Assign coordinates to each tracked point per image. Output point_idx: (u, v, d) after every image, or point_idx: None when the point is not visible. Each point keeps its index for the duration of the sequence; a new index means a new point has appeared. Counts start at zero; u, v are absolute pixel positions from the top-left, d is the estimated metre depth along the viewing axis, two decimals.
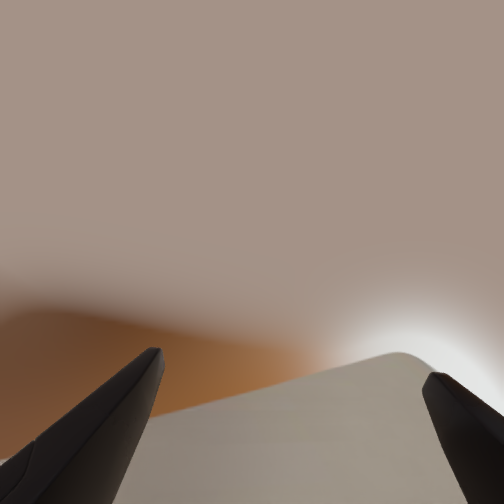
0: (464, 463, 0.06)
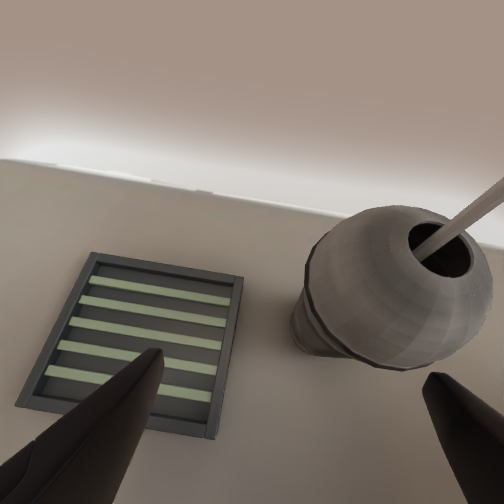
0: (464, 463, 0.06)
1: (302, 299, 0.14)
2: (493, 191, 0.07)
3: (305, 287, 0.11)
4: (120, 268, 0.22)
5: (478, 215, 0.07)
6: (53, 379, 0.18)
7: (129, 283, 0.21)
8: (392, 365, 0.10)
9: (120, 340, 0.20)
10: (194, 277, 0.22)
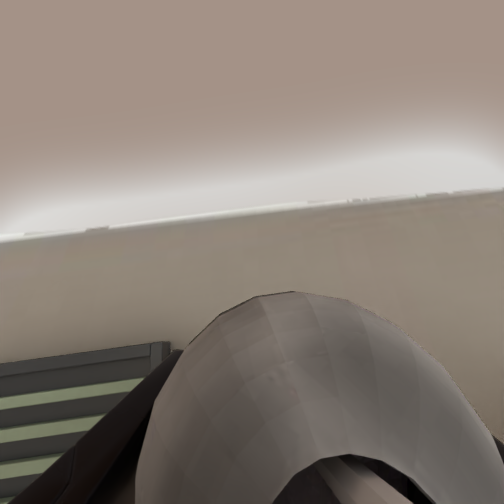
0: None
1: None
2: None
3: None
4: None
5: None
6: None
7: (11, 399, 0.15)
8: None
9: (18, 481, 0.15)
10: (97, 362, 0.16)
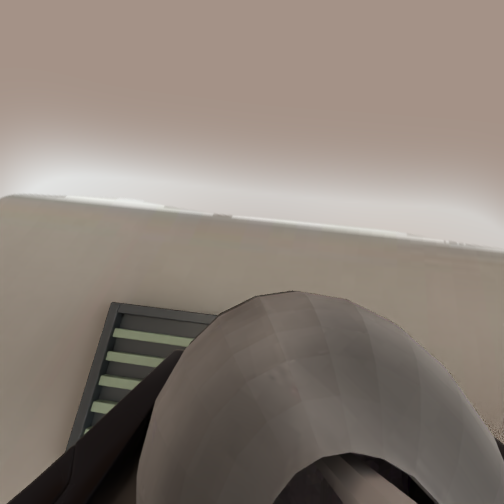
0: None
1: None
2: None
3: None
4: (143, 316, 0.21)
5: None
6: None
7: (153, 335, 0.20)
8: None
9: None
10: None
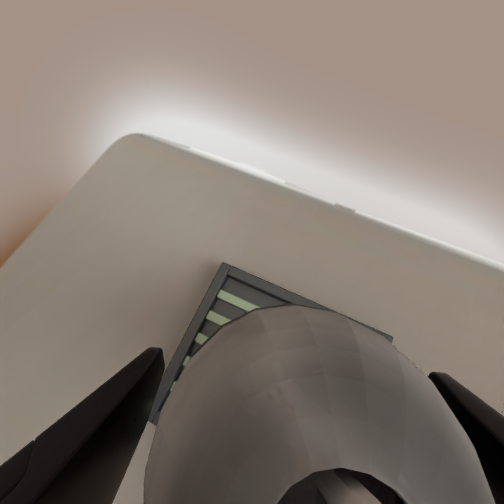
0: None
1: None
2: None
3: None
4: (248, 286, 0.20)
5: None
6: None
7: None
8: None
9: None
10: None
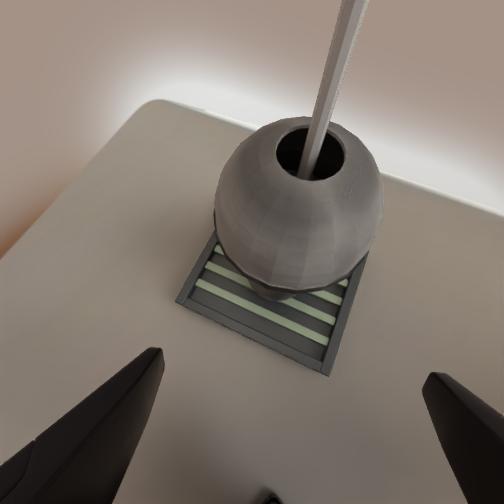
0: (464, 463, 0.06)
1: None
2: (327, 66, 0.06)
3: (216, 236, 0.11)
4: None
5: (328, 101, 0.06)
6: (199, 290, 0.22)
7: None
8: (309, 287, 0.10)
9: None
10: None
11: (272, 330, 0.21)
